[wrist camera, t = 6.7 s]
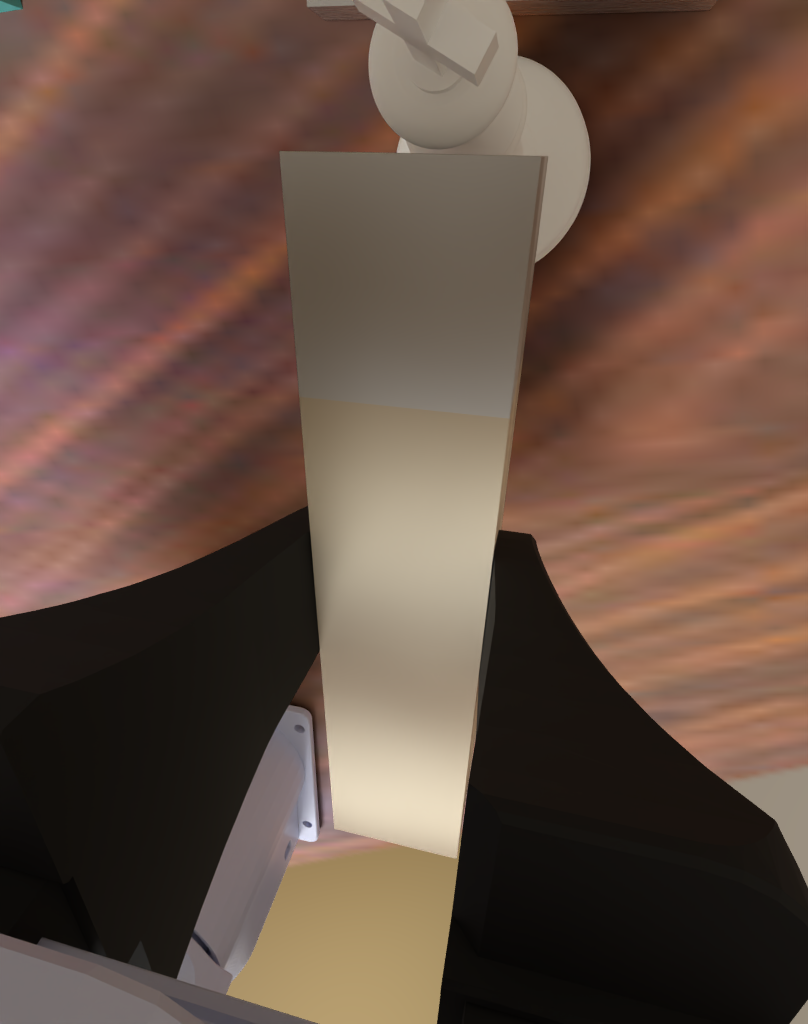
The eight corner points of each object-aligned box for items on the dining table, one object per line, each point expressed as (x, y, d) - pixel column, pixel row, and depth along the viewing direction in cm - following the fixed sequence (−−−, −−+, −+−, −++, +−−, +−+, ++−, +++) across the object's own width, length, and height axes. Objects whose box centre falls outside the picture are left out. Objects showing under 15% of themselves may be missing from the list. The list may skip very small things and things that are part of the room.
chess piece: (516, 313, 16) (481, 334, 7) (365, 217, 16) (129, 109, 7) (633, 127, 14) (801, -192, 5) (460, 17, 14) (306, -505, 5)
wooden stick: (475, 735, 17) (456, 859, 14) (373, 713, 17) (334, 828, 14) (547, 156, 9) (541, 157, 6) (364, 152, 10) (279, 151, 7)
